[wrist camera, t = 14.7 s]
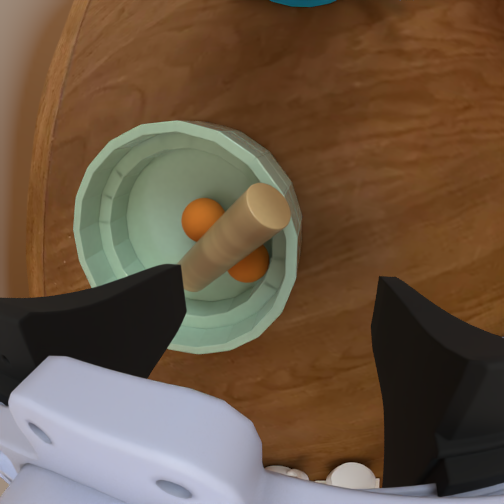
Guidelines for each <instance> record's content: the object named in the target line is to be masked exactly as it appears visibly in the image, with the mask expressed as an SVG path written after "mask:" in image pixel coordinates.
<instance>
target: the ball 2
mask: <svg viewBox="0 0 504 504" xmlns="http://www.w3.org/2000/svg"><path fill="white" fill-rule="evenodd" d="M268 267H269V254H268V251H267V249H266V248H265V246H264V245H263V244H262V245H261V246H260V247H258V248H257V249H256V250H254V251H253V252H252V253H250V254H249V255H248V256H246V257H245V258H244V259H242V260H241V261H240V262H238V263H237V264H236V265H234V266H233V267H232V268H230V269H229V270H228V273H229V274H230V276H231V277H233V278H234V279H235V280H237V281H240V282H244V283H250V282H254V281H257V280H259V279H260V278H261V277H263V276H264V274H265V273H266V271H267V269H268Z"/></svg>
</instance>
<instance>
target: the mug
mask: <svg viewBox="0 0 504 504" xmlns="http://www.w3.org/2000/svg"><path fill="white" fill-rule="evenodd" d="M270 1H272V2H276V3H280V4H283V5H287V6H291V7H314V6H319V5H324V4H329V3H332V2H334V1H336V0H270Z"/></svg>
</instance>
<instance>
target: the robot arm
mask: <svg viewBox="0 0 504 504" xmlns="http://www.w3.org/2000/svg"><path fill="white" fill-rule="evenodd" d="M186 313H187V309H186V301H185V293H184V286H183V277H182V269H181V265H179V264H162V265H158V266H154V267H151V268H148V269H146V270H143V271H140V272H137V273H135V274H132V275H129V276H127V277H124V278H121V279H118V280H115V281H112V282H109V283H106V284H103V285H100V286H97V287H94V288H90V289H86V290H82V291H78V292H73V293H67V294H61V295H55V296H48V297H36V298H0V477H1V478H2V479H3V480H5V481H6V482H7V483H8V484H9V486H8V488H7V489H6V490H5V492H4V493H3V494H2V496H1V497H0V504H504V337H500V336H497V335H494V334H491V333H489V332H486V331H484V330H481V329H479V328H477V327H474V326H472V325H470V324H468V323H466V322H464V321H462V320H460V319H458V318H456V317H454V316H453V315H451V314H449V313H448V312H446V311H444V310H443V309H441V308H440V307H438V306H437V305H435V304H434V303H432V302H431V301H429V300H428V299H426V298H425V297H424V296H422V295H421V294H420V293H418V292H417V291H416V290H414V289H413V288H412V287H410V286H409V285H408V284H406V283H405V282H403V281H402V280H400V279H399V278H397V277H383V276H379V281H378V288H377V294H376V300H375V306H374V312H373V318H372V323H371V334H372V347H373V353H374V358H375V363H376V367H377V372H378V377H379V382H380V387H381V393H382V399H383V406H384V471H383V484H382V488H374V489H350V488H344V487H338V486H333V485H328V484H323V483H318V482H314V481H309V480H305V479H301V478H297V477H293V476H289V475H285V474H281V473H278V472H274V471H271V470H267V469H264V467H263V464H262V442H261V440H260V438H259V436H258V434H257V431H256V429H255V427H254V425H253V423H252V422H251V421H250V420H249V419H248V418H247V417H245V416H244V415H243V414H241V413H240V412H238V411H237V410H236V409H234V408H233V407H232V406H230V405H229V404H228V403H227V402H225V401H224V400H222V399H219V398H216V397H213V396H211V395H208V394H205V393H202V392H199V391H197V390H194V389H191V388H187V387H182V386H177V385H172V384H167V383H162V382H158V381H154V380H149V379H147V378H148V376H149V375H150V373H151V371H152V370H153V368H154V367H155V365H156V364H157V362H158V361H159V359H160V358H161V356H162V355H163V353H164V352H165V351H166V349H167V348H168V346H169V345H170V343H171V342H172V340H173V338H174V337H175V335H176V334H177V332H178V330H179V328H180V326H181V324H182V322H183V320H184V317H185V315H186Z"/></svg>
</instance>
